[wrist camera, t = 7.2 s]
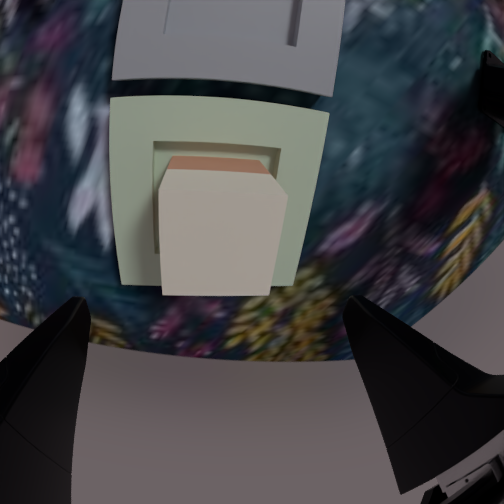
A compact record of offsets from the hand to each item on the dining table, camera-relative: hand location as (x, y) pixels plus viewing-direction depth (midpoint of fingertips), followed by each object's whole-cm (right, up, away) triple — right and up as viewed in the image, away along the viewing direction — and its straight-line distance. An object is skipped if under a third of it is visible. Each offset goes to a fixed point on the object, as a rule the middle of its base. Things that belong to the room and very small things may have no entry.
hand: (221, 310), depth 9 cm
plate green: (-2, +5, +9) cm, 10 cm away
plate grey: (0, +17, +2) cm, 17 cm away
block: (-1, +5, +8) cm, 10 cm away
